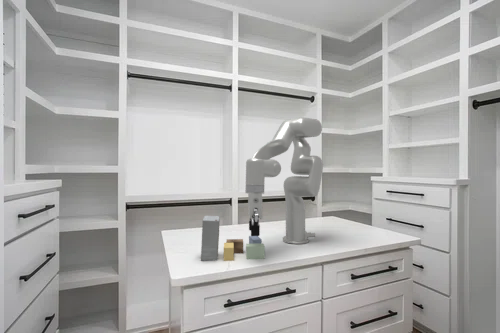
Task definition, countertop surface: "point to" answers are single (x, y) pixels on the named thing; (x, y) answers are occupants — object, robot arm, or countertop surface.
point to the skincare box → (210, 238)
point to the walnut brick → (236, 245)
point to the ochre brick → (228, 251)
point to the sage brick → (255, 251)
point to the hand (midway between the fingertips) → (253, 232)
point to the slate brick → (254, 240)
